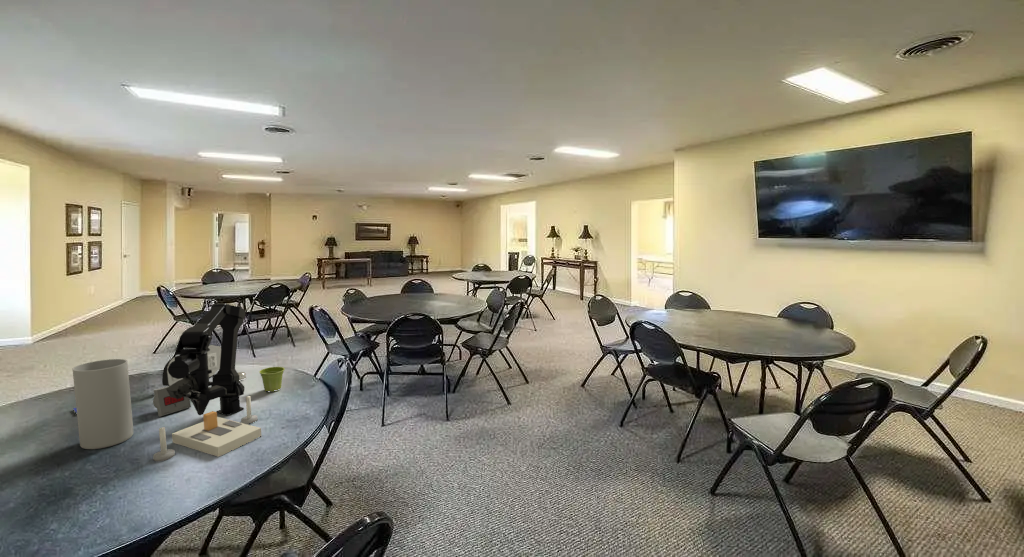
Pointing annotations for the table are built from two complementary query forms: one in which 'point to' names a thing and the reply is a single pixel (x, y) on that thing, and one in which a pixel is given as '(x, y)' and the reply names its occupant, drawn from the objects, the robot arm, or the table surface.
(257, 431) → the breaker board
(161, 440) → the cable post
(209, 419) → the switch
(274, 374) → the plant pot
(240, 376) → the metal grooved wheel
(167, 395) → the voltmeter
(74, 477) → the table surface
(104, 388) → the cylinder vase
